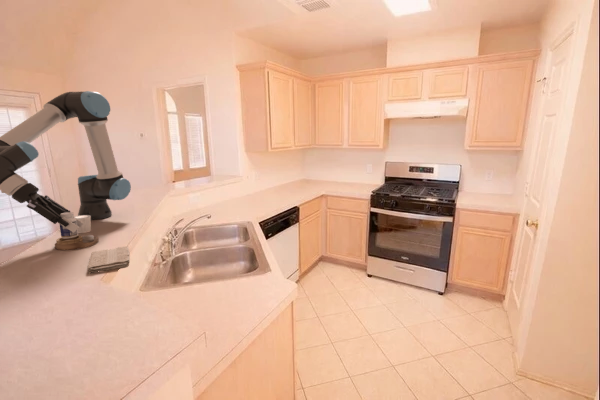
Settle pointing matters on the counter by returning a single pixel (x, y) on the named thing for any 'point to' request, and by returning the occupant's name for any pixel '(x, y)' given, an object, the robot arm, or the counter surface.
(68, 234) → the pill bottle
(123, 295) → the counter surface
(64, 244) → the fire pit
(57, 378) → the counter surface
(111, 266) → the washcloth
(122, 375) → the counter surface
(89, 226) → the white cup
